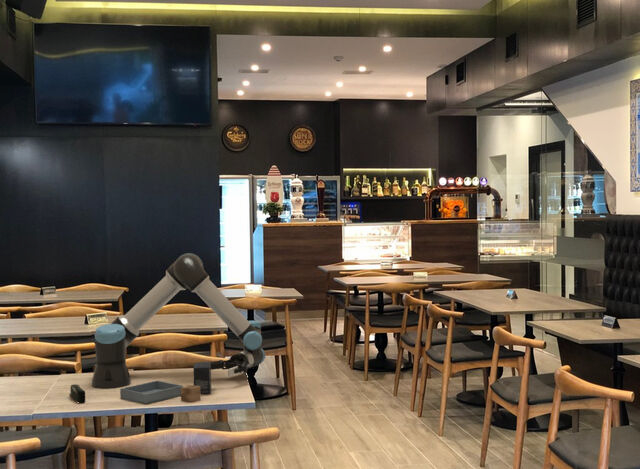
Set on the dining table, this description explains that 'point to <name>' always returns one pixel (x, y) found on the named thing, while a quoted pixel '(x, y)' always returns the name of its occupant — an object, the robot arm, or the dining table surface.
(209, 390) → the small box
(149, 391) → the tray
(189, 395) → the walnut cube
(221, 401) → the dining table surface
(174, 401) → the dining table surface
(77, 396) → the mobile phone
